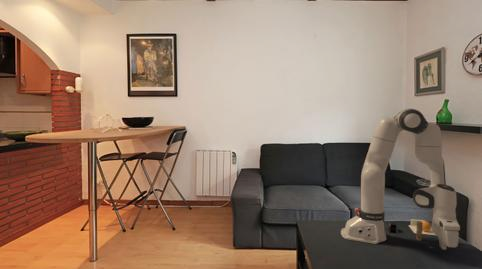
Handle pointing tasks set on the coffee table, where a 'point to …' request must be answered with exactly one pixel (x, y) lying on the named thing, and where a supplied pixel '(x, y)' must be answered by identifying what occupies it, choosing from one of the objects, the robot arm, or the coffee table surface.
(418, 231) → the post
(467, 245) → the coffee table surface
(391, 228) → the dark slotted block
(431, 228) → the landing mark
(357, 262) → the coffee table surface
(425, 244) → the coffee table surface
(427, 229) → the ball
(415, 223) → the wall
